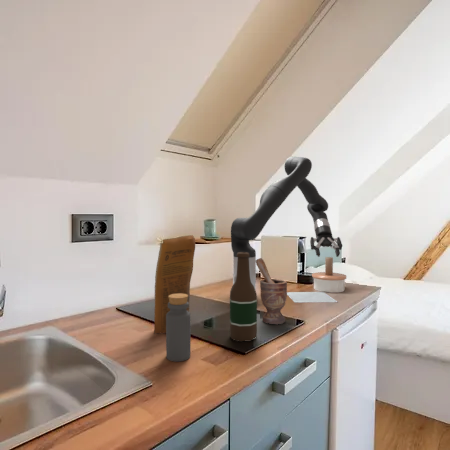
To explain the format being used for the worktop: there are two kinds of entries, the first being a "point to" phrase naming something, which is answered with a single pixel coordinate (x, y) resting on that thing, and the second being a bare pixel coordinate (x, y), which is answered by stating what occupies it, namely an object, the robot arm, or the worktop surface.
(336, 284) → the bowl
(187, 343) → the bottle
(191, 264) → the pancake mix bag
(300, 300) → the mat
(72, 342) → the worktop surface
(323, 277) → the lid
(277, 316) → the mortar and pestle
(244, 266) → the beer bottle
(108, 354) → the worktop surface
